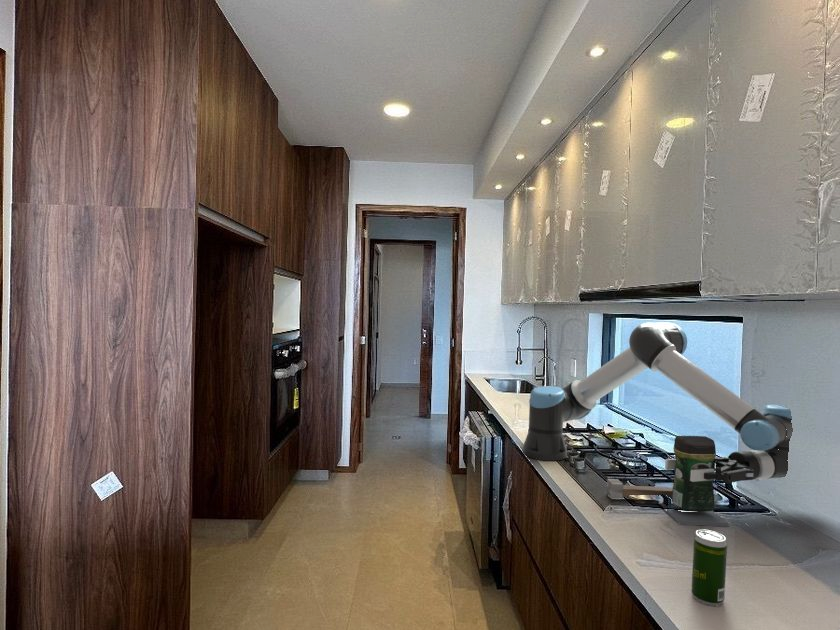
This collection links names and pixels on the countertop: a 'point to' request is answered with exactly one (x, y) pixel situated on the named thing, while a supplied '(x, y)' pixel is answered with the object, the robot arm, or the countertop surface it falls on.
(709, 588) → the beer can
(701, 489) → the coffee jar
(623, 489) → the walnut handrail
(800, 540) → the countertop surface
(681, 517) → the slate end pad
